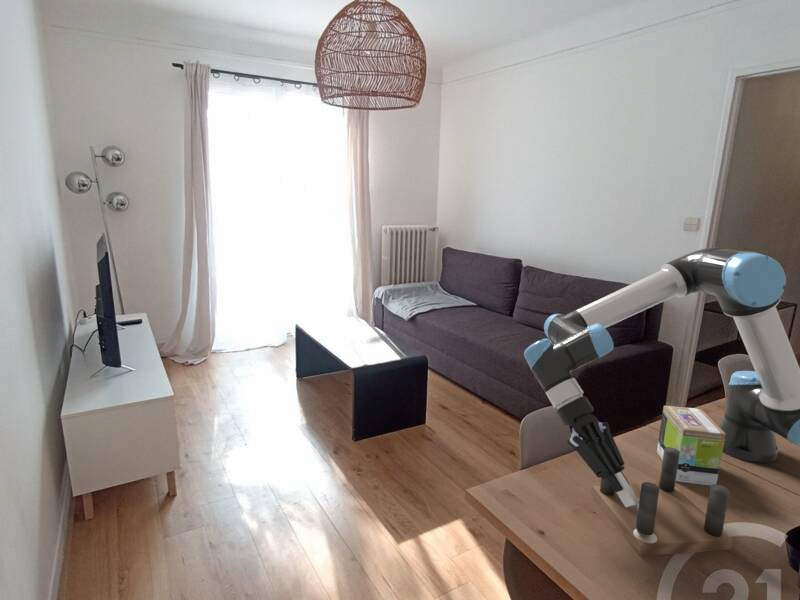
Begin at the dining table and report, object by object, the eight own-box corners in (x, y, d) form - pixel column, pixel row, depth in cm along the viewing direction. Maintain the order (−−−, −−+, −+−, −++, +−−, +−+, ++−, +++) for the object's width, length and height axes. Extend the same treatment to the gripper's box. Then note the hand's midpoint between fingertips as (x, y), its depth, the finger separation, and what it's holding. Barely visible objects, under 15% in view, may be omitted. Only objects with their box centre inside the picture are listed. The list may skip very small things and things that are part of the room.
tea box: (718, 487, 118) (727, 433, 115) (674, 482, 120) (682, 429, 117) (694, 455, 132) (701, 407, 129) (655, 451, 134) (662, 403, 131)
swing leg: (635, 501, 108) (640, 457, 105) (650, 505, 106) (656, 461, 104) (635, 536, 96) (641, 488, 94) (652, 541, 95) (659, 493, 93)
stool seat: (668, 490, 116) (674, 444, 114) (731, 549, 97) (741, 495, 94) (590, 495, 114) (595, 448, 112) (639, 556, 95) (646, 501, 92)
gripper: (575, 402, 114) (635, 498, 105) (541, 416, 107) (601, 520, 97) (597, 389, 109) (662, 488, 99) (563, 402, 102) (629, 512, 92)
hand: (632, 504), depth 98 cm, fingers closed
